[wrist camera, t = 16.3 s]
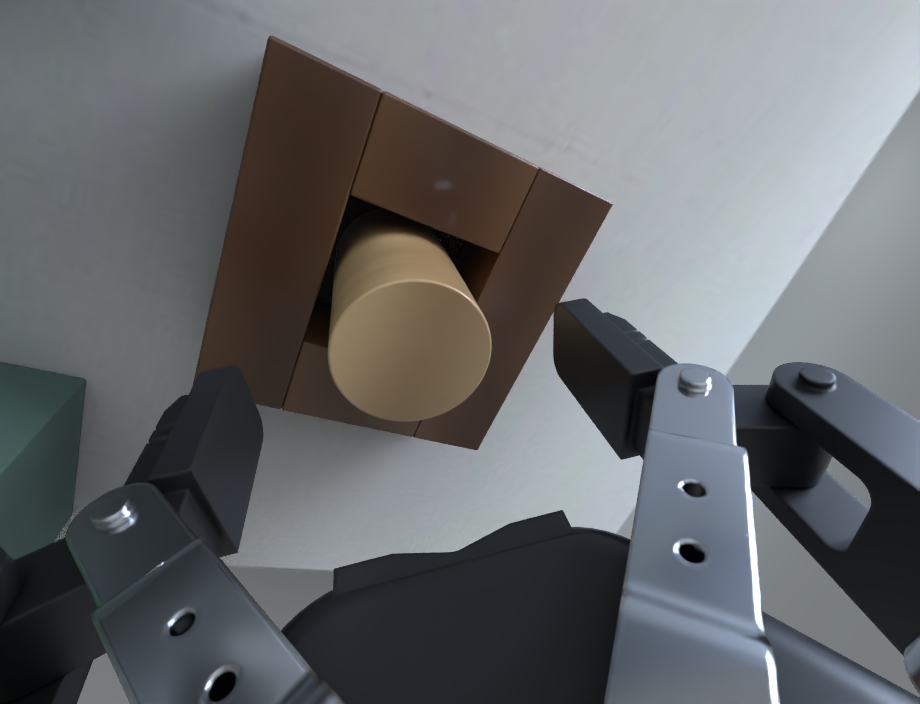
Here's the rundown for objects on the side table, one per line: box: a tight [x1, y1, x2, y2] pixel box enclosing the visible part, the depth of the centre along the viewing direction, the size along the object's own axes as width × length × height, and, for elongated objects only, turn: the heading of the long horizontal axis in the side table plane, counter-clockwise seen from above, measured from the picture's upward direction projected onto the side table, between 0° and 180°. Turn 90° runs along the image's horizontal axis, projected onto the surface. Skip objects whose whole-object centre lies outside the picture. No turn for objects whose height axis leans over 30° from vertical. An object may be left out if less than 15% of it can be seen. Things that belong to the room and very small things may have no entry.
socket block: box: [193, 36, 613, 450], centre depth 17 cm, size 11×11×4 cm
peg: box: [327, 208, 492, 422], centre depth 16 cm, size 4×4×8 cm
